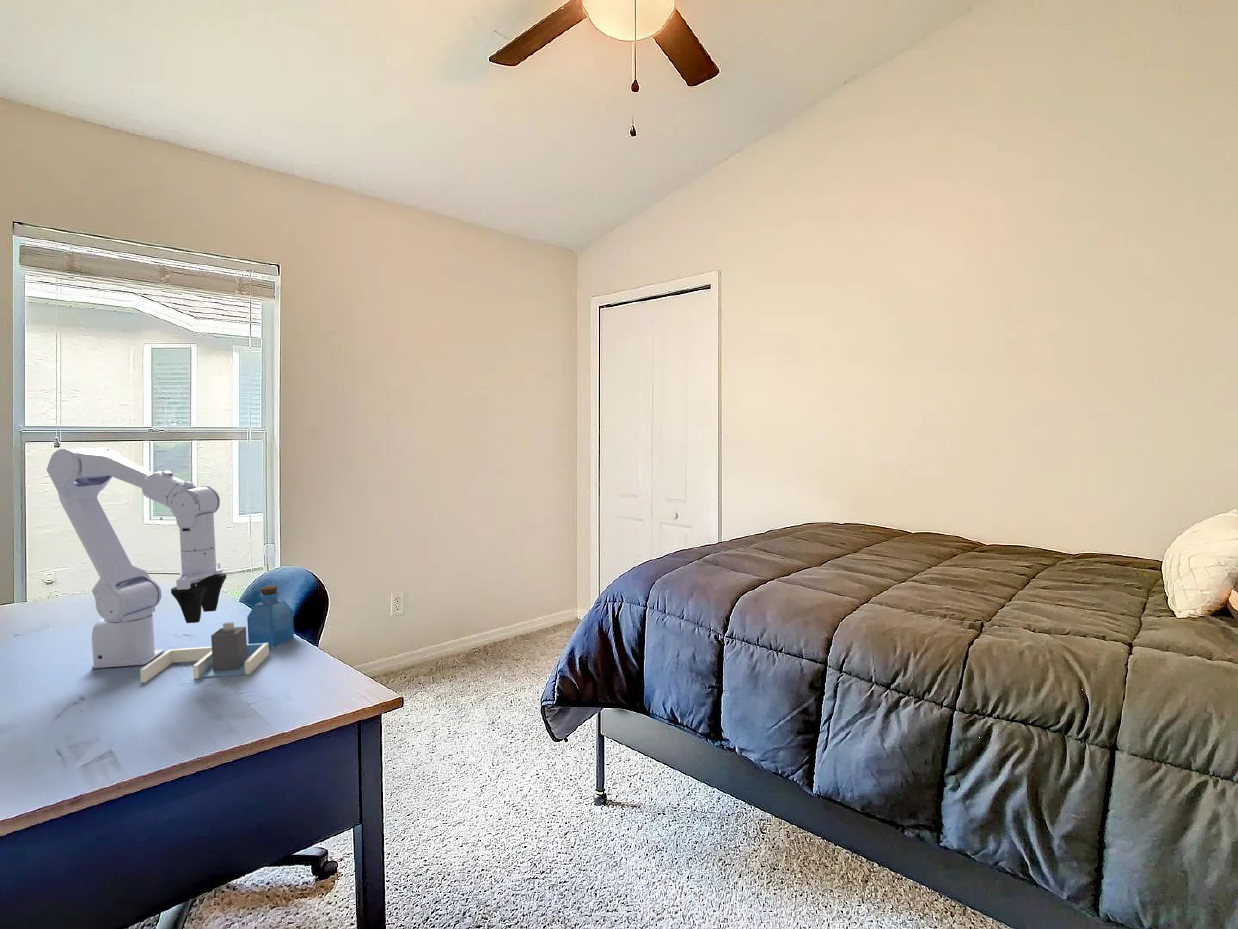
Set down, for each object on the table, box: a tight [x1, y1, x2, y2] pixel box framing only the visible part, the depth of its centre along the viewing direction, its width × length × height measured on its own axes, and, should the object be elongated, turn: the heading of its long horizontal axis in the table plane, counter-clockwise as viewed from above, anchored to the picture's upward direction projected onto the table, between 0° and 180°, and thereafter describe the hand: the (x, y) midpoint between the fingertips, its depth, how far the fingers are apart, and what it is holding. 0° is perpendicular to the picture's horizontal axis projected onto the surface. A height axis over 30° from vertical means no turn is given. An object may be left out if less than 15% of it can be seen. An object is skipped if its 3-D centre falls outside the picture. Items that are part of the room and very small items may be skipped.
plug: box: [210, 621, 248, 672], centre depth 126 cm, size 4×4×8 cm
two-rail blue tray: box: [139, 643, 270, 684], centre depth 126 cm, size 18×11×2 cm, turn 101°
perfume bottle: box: [246, 585, 295, 648], centre depth 141 cm, size 6×6×12 cm
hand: (201, 616), depth 128 cm, fingers open, 7 cm apart
